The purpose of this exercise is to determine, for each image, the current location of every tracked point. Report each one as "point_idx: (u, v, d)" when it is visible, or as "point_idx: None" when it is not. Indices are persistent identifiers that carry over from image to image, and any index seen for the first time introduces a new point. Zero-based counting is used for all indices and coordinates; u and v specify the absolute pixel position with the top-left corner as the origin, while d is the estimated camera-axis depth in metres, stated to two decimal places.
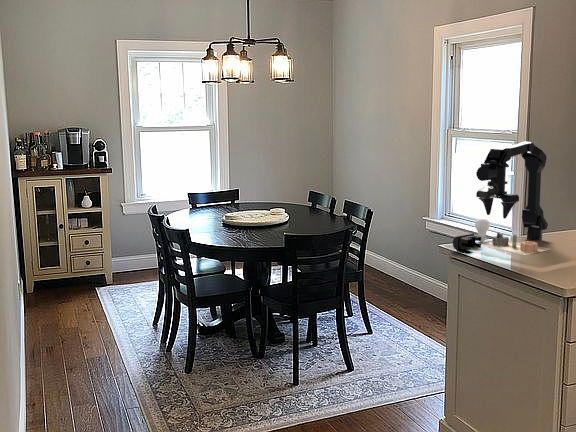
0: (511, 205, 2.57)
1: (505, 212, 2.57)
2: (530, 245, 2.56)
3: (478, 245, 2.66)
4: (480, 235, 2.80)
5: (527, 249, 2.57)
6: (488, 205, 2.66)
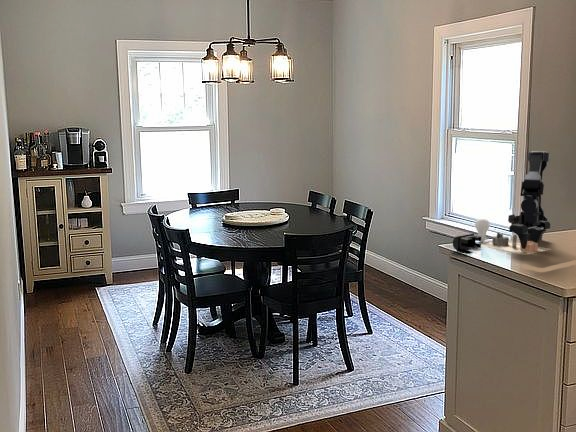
0: (524, 236, 2.54)
1: (521, 242, 2.57)
2: (530, 245, 2.56)
3: (478, 245, 2.66)
4: (480, 235, 2.80)
5: (527, 249, 2.57)
6: (535, 237, 2.60)
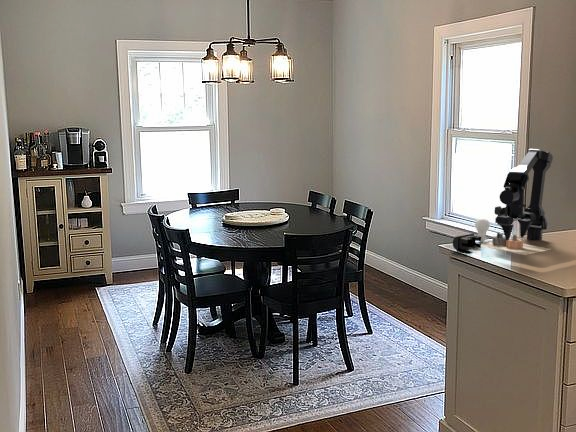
0: (508, 228, 2.59)
1: (505, 233, 2.61)
2: (515, 242, 2.61)
3: (478, 245, 2.66)
4: (480, 235, 2.80)
5: (513, 246, 2.63)
6: (522, 228, 2.66)
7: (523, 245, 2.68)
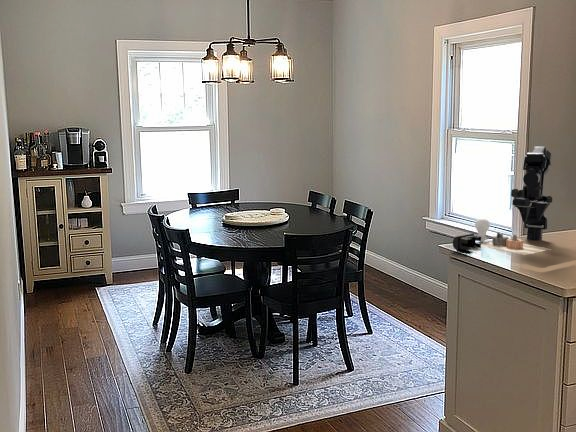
0: (525, 210, 2.59)
1: (522, 216, 2.62)
2: (515, 242, 2.61)
3: (478, 245, 2.66)
4: (480, 235, 2.80)
5: (513, 246, 2.63)
6: (539, 210, 2.67)
7: (523, 245, 2.68)
